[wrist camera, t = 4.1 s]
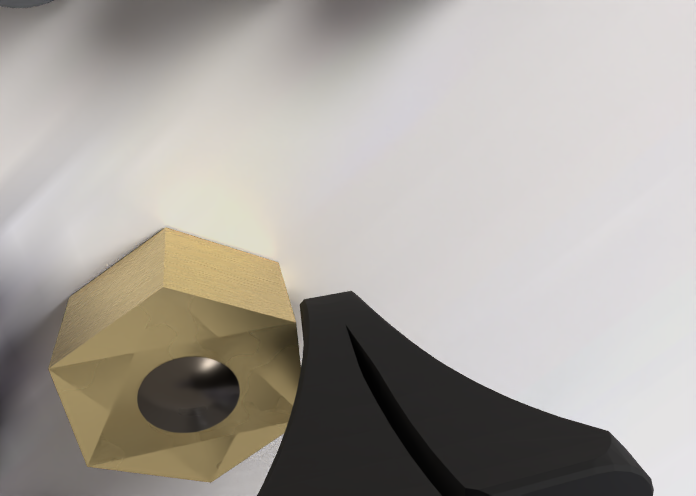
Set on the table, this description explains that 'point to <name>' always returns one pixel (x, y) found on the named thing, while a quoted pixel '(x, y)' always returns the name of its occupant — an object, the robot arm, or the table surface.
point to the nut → (178, 359)
